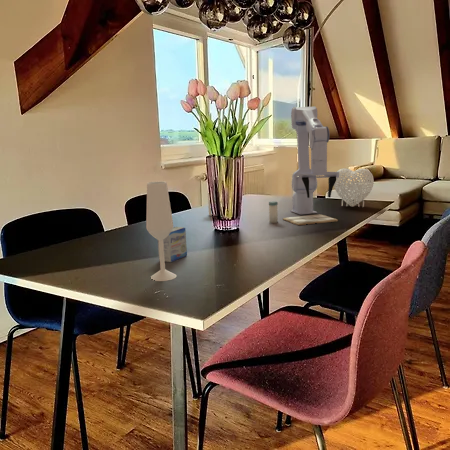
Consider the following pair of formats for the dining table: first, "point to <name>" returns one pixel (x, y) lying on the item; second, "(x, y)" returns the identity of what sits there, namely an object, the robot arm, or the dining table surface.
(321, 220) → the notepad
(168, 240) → the medicine box
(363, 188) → the decorative heart
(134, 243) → the dining table surface
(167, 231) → the champagne flute
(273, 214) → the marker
